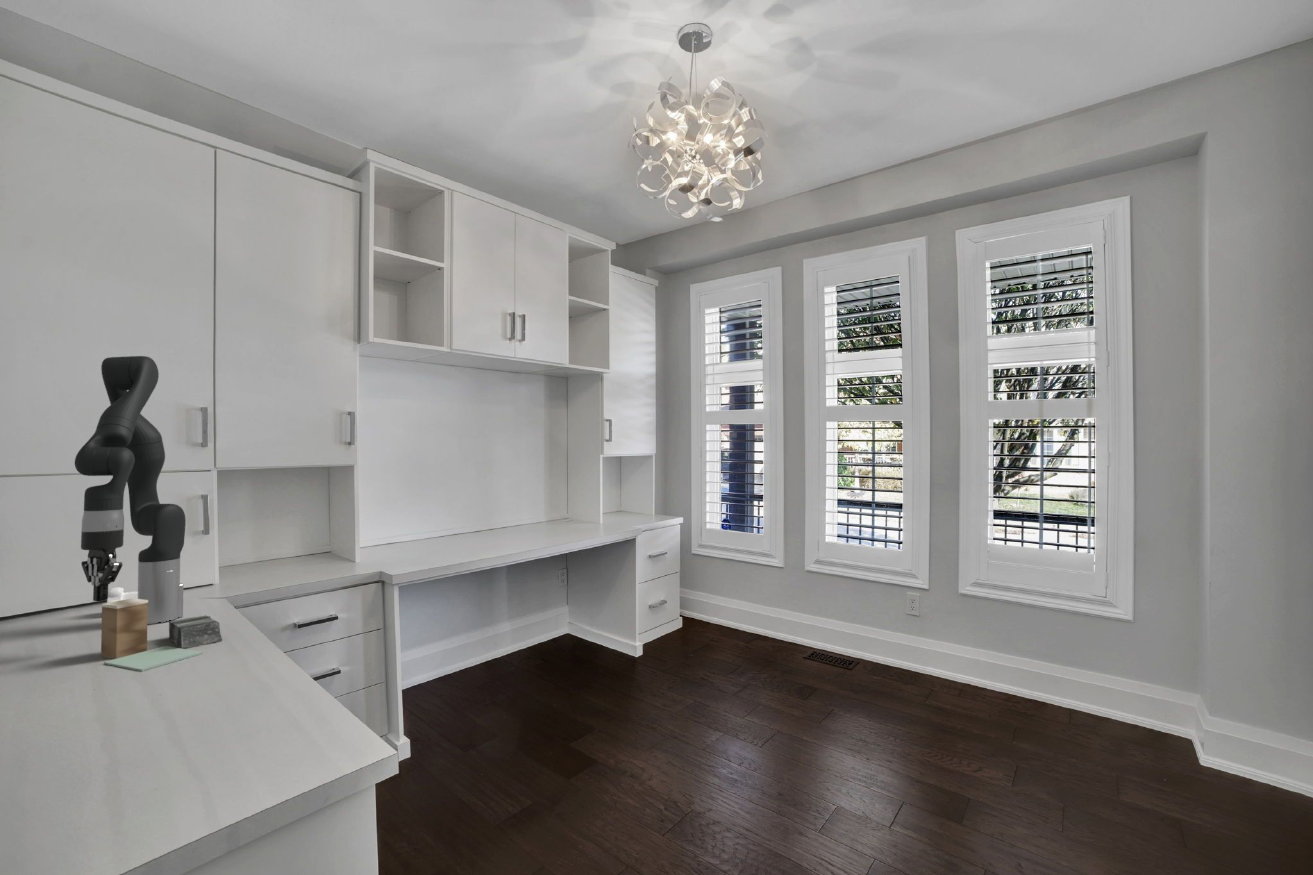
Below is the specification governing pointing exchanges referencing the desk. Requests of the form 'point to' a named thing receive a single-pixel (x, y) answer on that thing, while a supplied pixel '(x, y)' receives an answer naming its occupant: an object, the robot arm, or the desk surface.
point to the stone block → (194, 631)
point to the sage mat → (152, 658)
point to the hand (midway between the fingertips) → (100, 600)
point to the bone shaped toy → (120, 595)
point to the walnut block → (124, 628)
